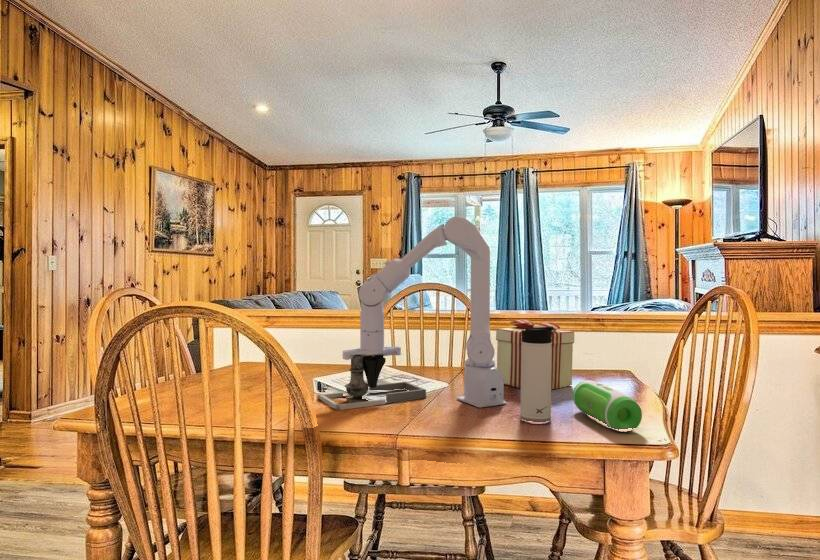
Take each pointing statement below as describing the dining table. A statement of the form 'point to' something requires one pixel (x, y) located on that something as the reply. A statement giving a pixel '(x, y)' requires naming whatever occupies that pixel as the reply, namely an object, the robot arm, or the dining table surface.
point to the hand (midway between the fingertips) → (372, 386)
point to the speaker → (607, 405)
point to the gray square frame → (350, 405)
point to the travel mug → (536, 374)
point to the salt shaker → (357, 381)
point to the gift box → (511, 353)
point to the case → (412, 394)
